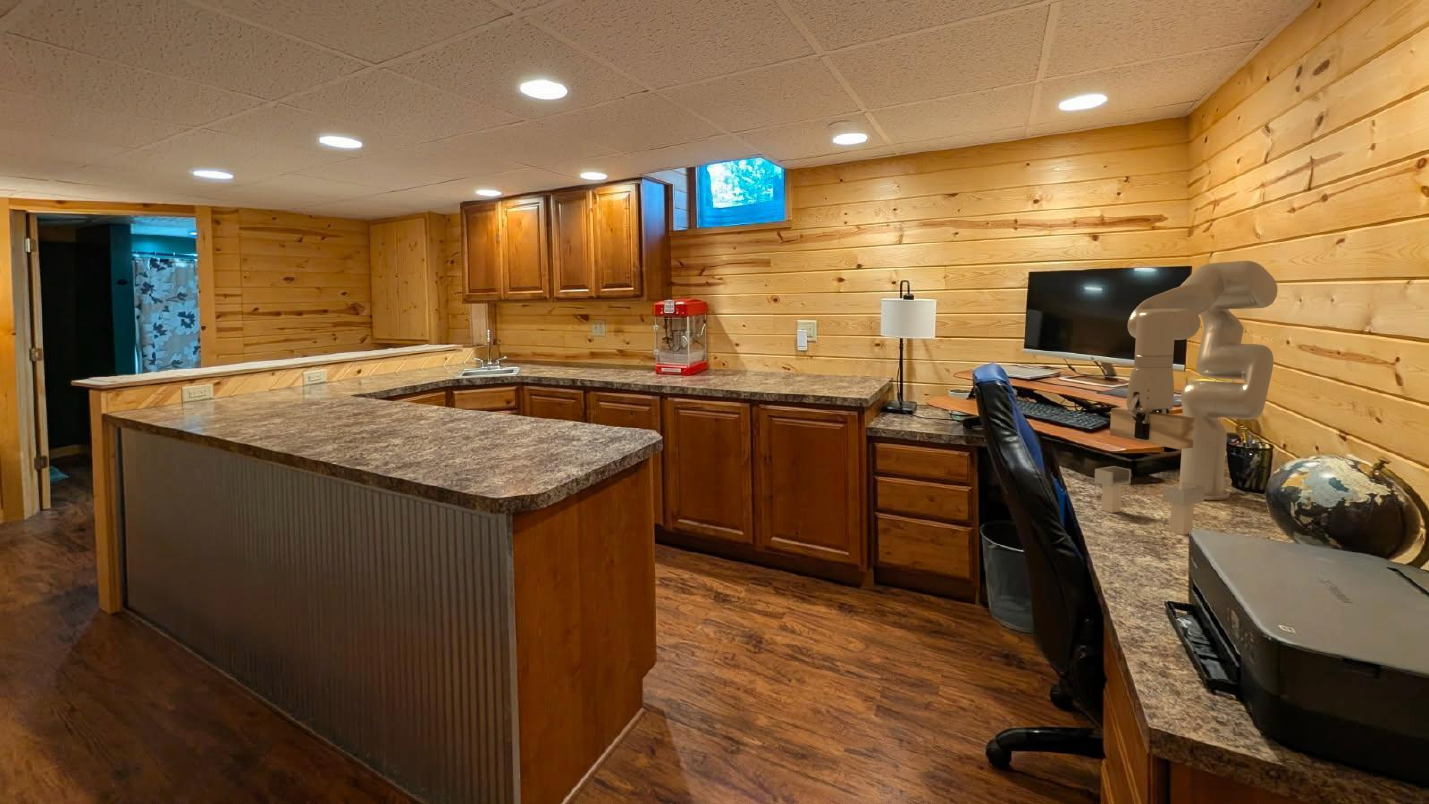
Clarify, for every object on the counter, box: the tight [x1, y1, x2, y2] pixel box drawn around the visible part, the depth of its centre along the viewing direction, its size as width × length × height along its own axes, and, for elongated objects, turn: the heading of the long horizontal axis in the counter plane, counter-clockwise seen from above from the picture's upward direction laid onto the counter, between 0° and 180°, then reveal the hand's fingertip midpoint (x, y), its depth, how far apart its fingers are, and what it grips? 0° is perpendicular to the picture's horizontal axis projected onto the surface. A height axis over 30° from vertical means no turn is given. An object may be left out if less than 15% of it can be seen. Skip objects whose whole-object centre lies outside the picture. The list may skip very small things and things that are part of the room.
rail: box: [1109, 406, 1195, 450], centre depth 149 cm, size 4×18×7 cm, turn 15°
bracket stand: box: [1094, 465, 1205, 536], centre depth 151 cm, size 7×22×11 cm, turn 19°
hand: (1148, 437), depth 149 cm, fingers closed on rail, 4 cm apart
